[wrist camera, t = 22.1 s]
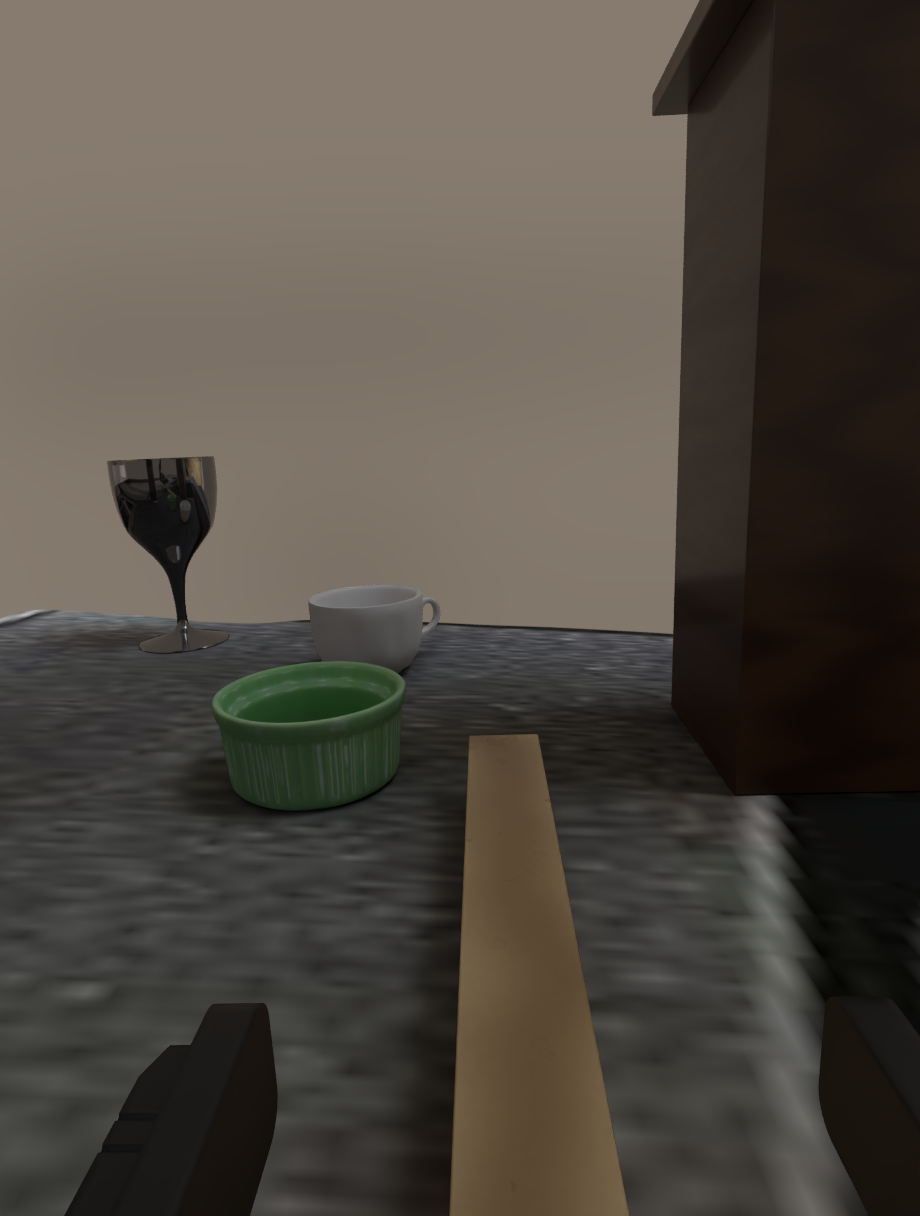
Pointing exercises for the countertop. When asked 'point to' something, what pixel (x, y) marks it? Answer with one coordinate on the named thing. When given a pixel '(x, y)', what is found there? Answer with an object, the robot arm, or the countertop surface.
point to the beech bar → (524, 1011)
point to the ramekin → (311, 733)
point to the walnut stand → (800, 393)
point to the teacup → (370, 624)
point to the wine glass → (169, 528)
